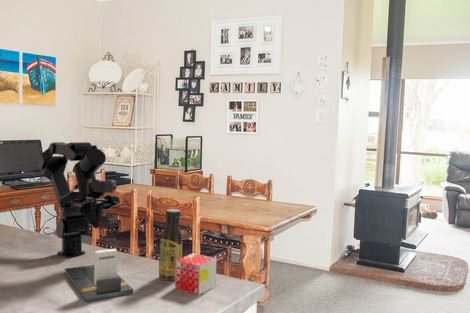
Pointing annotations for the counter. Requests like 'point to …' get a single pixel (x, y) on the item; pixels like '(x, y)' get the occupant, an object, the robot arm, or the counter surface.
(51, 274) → the counter surface
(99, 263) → the fader tab
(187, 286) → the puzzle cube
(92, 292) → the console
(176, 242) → the sauce bottle
